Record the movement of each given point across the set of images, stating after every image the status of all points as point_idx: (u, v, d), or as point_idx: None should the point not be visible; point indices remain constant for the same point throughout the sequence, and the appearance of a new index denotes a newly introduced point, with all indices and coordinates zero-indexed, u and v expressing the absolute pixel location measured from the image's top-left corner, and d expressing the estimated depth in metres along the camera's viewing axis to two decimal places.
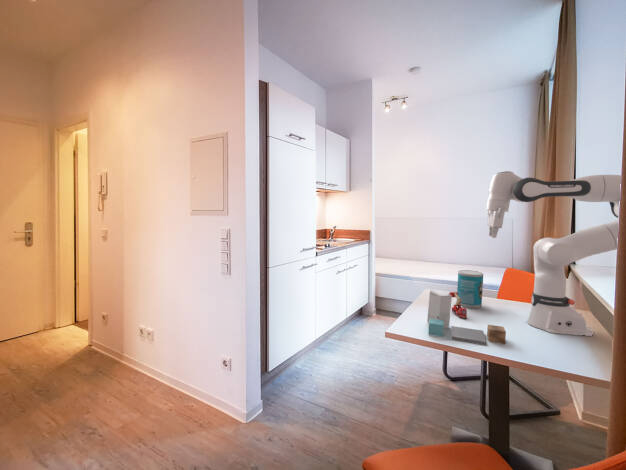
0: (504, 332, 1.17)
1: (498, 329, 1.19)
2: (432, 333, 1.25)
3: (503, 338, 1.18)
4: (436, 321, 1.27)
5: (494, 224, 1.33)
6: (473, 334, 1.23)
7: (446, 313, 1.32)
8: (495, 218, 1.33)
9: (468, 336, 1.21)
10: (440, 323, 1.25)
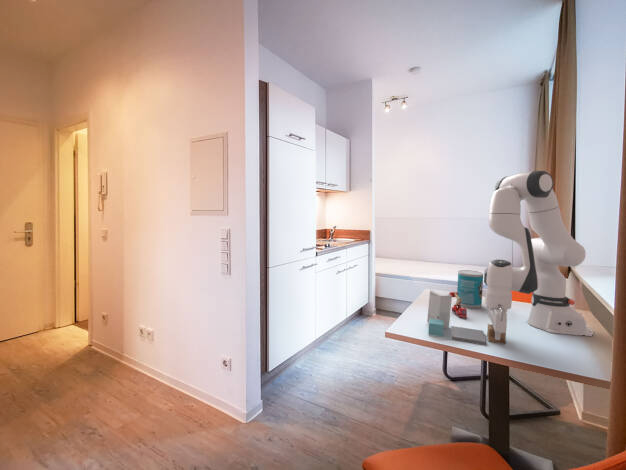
0: None
1: None
2: (432, 333, 1.25)
3: (503, 338, 1.18)
4: (436, 321, 1.27)
5: (496, 329, 1.12)
6: (473, 334, 1.23)
7: (446, 313, 1.32)
8: (497, 322, 1.12)
9: (468, 336, 1.21)
10: (440, 323, 1.25)
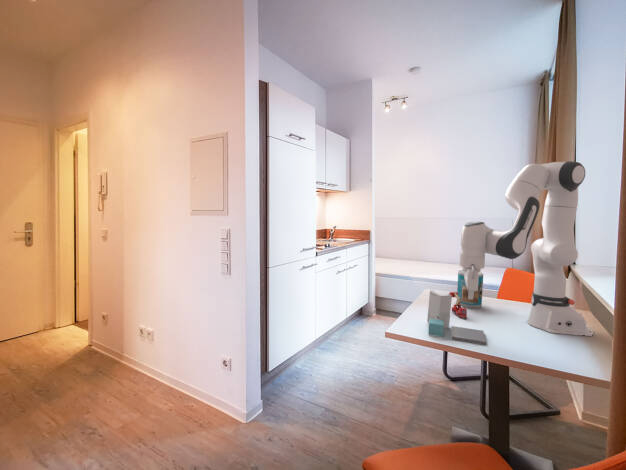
0: (477, 291, 1.19)
1: None
2: (432, 333, 1.25)
3: (476, 297, 1.19)
4: (436, 321, 1.27)
5: (468, 287, 1.14)
6: (473, 334, 1.23)
7: (446, 313, 1.32)
8: (469, 280, 1.14)
9: (468, 336, 1.21)
10: (440, 323, 1.25)
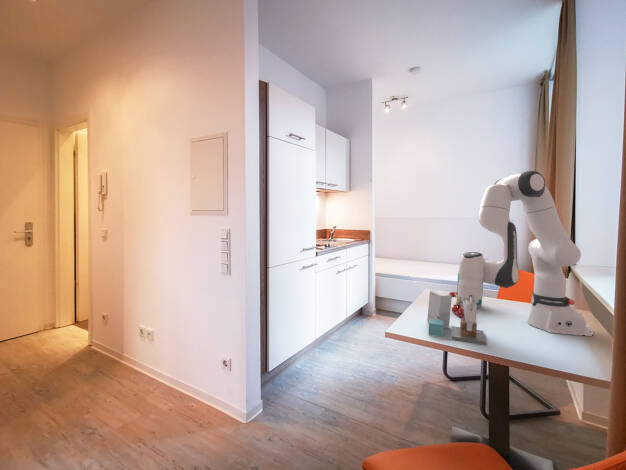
0: (475, 325, 1.20)
1: None
2: (432, 333, 1.25)
3: (474, 331, 1.21)
4: (436, 321, 1.27)
5: (467, 319, 1.15)
6: None
7: (446, 313, 1.32)
8: (467, 312, 1.15)
9: (468, 336, 1.21)
10: (440, 323, 1.25)
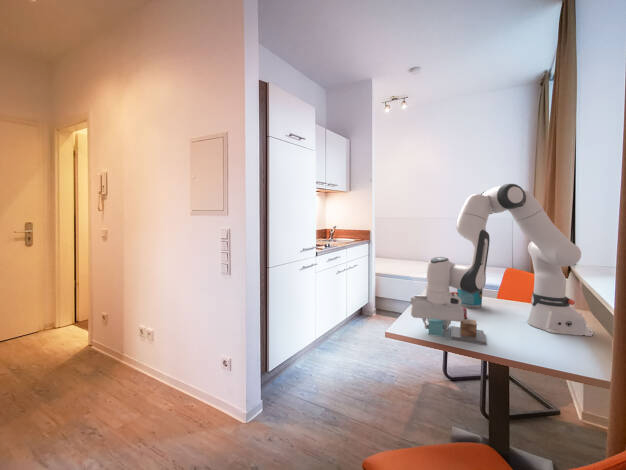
0: (475, 325, 1.20)
1: (469, 322, 1.22)
2: (432, 333, 1.25)
3: (474, 331, 1.21)
4: (436, 321, 1.27)
5: None
6: None
7: None
8: None
9: (468, 336, 1.21)
10: (440, 323, 1.25)
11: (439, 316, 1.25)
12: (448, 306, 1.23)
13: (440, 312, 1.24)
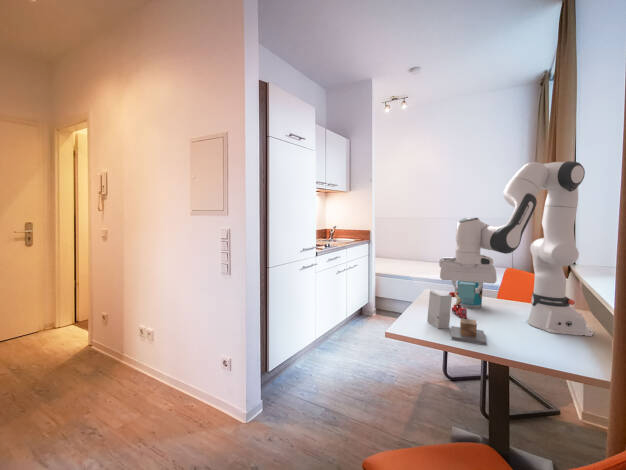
0: (475, 325, 1.20)
1: (469, 322, 1.22)
2: (462, 295, 1.22)
3: (474, 331, 1.21)
4: (467, 284, 1.23)
5: None
6: None
7: (446, 313, 1.32)
8: None
9: (468, 336, 1.21)
10: (470, 285, 1.21)
11: (469, 278, 1.21)
12: (478, 267, 1.19)
13: (470, 273, 1.20)
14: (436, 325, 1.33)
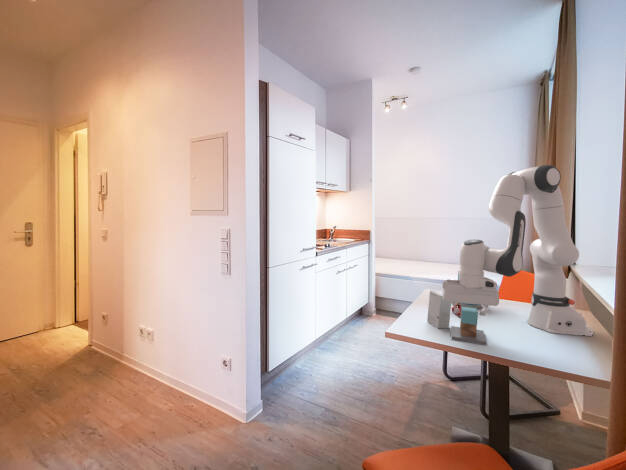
0: (475, 325, 1.20)
1: None
2: (466, 321, 1.21)
3: (474, 331, 1.21)
4: (469, 309, 1.23)
5: None
6: None
7: (446, 313, 1.32)
8: (443, 290, 1.26)
9: (468, 336, 1.21)
10: (474, 311, 1.21)
11: (472, 300, 1.21)
12: (482, 290, 1.20)
13: (474, 296, 1.21)
14: (436, 325, 1.33)
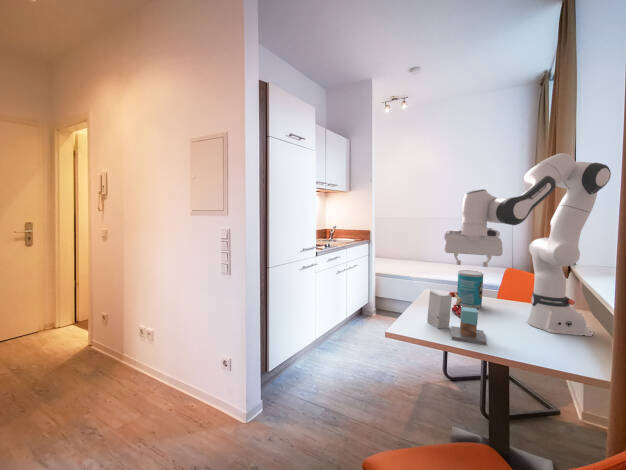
0: (475, 325, 1.20)
1: None
2: (466, 321, 1.21)
3: (474, 331, 1.21)
4: (469, 309, 1.23)
5: None
6: None
7: (446, 313, 1.32)
8: None
9: (468, 336, 1.21)
10: (474, 311, 1.21)
11: (474, 250, 1.19)
12: (484, 240, 1.17)
13: (476, 246, 1.19)
14: (436, 325, 1.33)
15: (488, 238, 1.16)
